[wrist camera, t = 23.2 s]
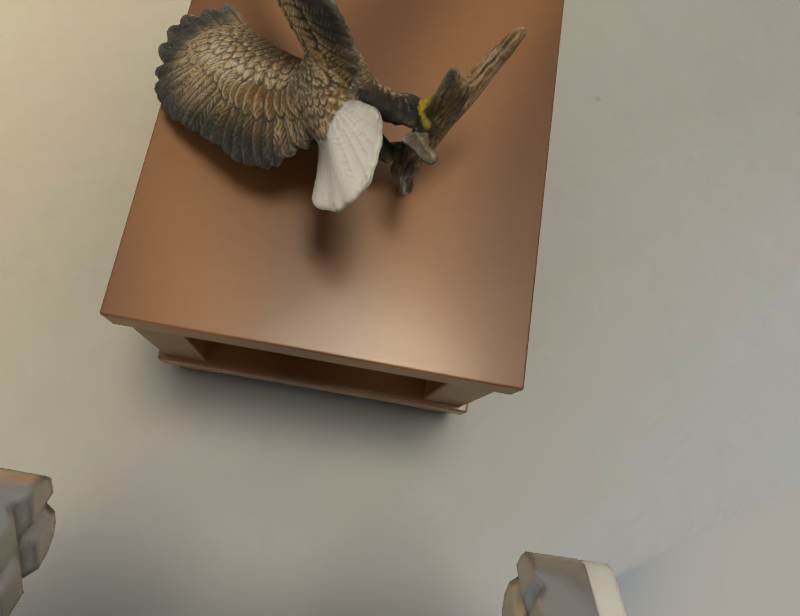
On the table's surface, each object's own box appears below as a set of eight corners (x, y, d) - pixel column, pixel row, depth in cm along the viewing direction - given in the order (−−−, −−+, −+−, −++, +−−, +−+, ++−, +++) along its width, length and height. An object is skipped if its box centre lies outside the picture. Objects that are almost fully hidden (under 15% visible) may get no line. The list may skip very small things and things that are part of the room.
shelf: (493, 102, 32) (570, -55, 23) (451, 419, 28) (524, 390, 18) (255, 49, 31) (231, -138, 22) (173, 370, 27) (98, 313, 17)
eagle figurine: (511, 44, 20) (270, -156, 19) (553, 19, 13) (179, -297, 12) (368, 236, 22) (142, 70, 21) (341, 299, 15) (3, 59, 14)
